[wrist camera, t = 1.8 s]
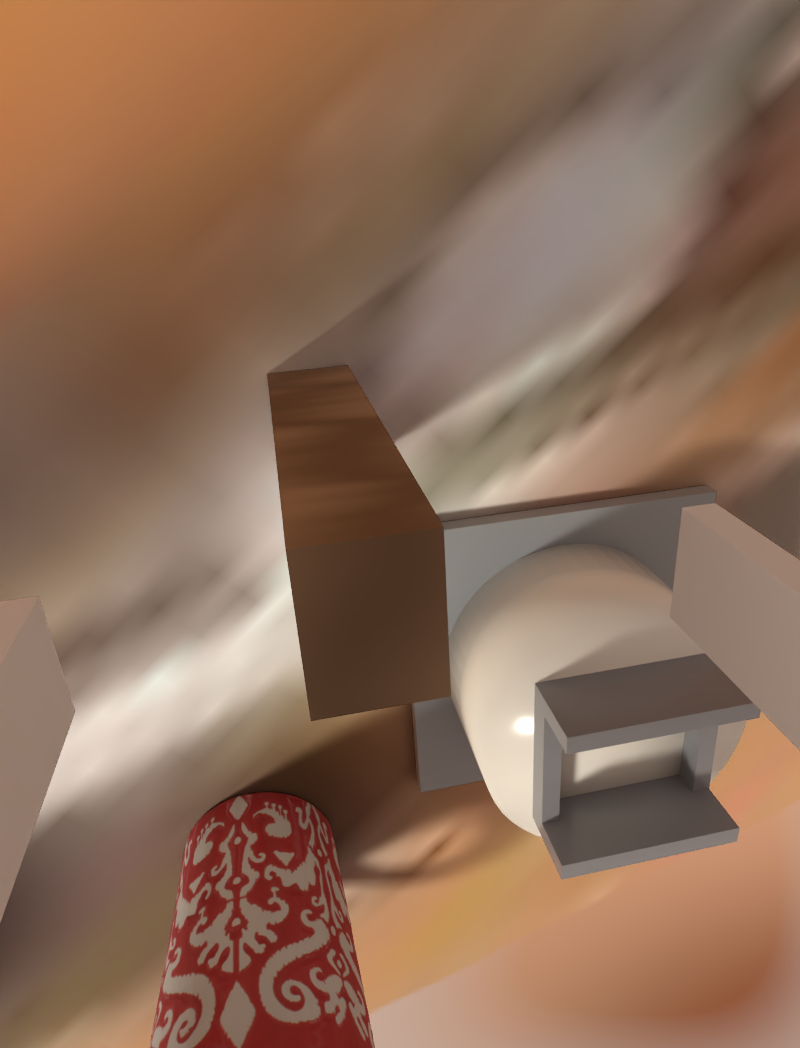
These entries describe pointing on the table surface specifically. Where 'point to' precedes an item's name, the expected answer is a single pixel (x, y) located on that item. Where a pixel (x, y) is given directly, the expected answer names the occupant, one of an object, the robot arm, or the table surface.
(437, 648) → the wood plank
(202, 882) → the mug
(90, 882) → the table surface
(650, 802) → the square plate with disc
